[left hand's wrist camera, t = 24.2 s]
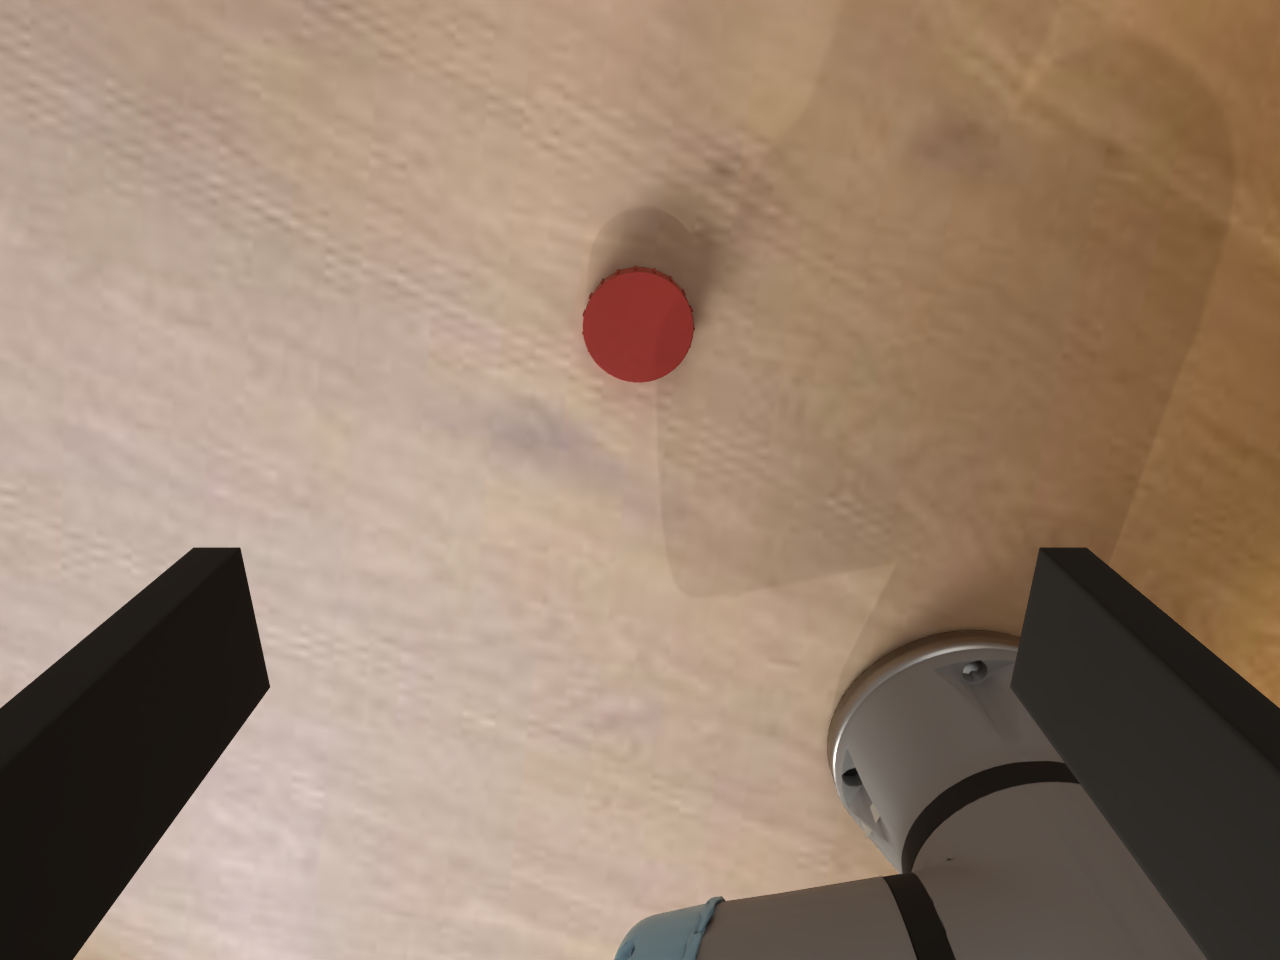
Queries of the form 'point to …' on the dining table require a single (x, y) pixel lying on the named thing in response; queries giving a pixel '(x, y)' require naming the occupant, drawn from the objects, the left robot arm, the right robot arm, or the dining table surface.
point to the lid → (638, 325)
